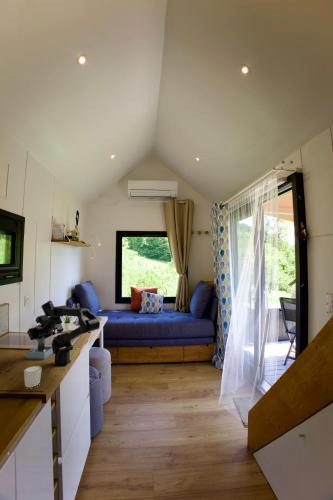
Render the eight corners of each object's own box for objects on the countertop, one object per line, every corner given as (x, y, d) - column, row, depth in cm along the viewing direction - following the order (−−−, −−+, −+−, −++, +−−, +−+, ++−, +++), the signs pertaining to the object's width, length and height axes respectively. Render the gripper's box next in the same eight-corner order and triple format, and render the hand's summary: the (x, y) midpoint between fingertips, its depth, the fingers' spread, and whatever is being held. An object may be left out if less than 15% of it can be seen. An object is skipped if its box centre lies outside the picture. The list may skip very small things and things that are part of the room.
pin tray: (55, 352, 147) (55, 346, 147) (44, 359, 136) (44, 353, 136) (37, 351, 148) (38, 345, 148) (25, 358, 137) (25, 352, 137)
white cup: (44, 381, 112) (44, 365, 112) (36, 389, 105) (37, 372, 105) (28, 381, 111) (29, 365, 112) (20, 389, 105) (20, 372, 105)
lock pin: (45, 353, 140) (46, 330, 140) (33, 353, 138) (34, 331, 139) (47, 349, 146) (48, 327, 146) (36, 350, 144) (37, 328, 145)
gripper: (61, 308, 149) (49, 324, 154) (29, 313, 133) (18, 331, 139) (68, 323, 144) (57, 339, 149) (37, 331, 128) (25, 348, 134)
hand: (40, 339), depth 143 cm, fingers closed on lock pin, 4 cm apart
